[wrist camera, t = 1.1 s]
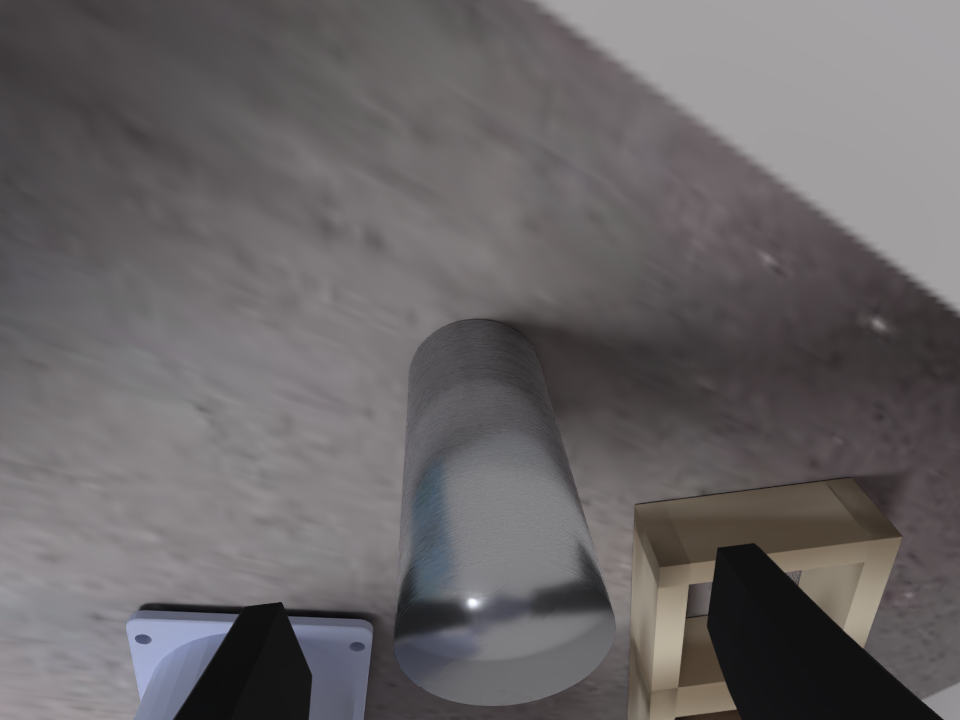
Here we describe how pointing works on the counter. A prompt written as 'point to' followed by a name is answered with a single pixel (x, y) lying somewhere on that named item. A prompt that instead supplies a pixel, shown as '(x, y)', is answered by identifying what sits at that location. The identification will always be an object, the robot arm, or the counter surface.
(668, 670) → the socket block
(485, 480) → the grey peg
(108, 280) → the counter surface
